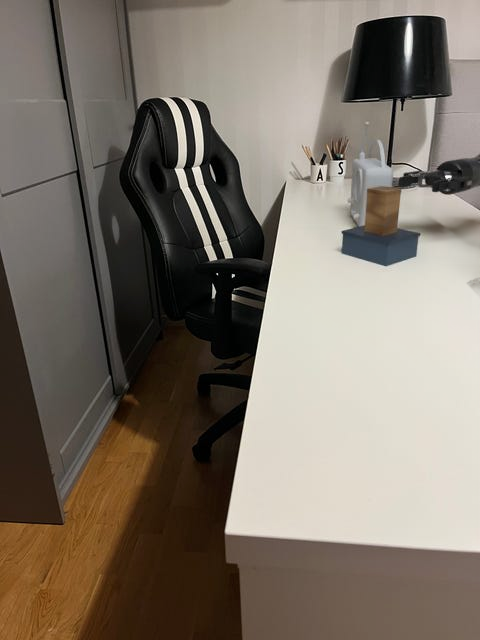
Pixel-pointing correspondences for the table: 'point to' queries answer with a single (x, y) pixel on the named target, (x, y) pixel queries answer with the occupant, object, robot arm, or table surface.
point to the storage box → (380, 245)
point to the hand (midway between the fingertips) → (416, 184)
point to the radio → (367, 179)
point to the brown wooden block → (382, 210)
